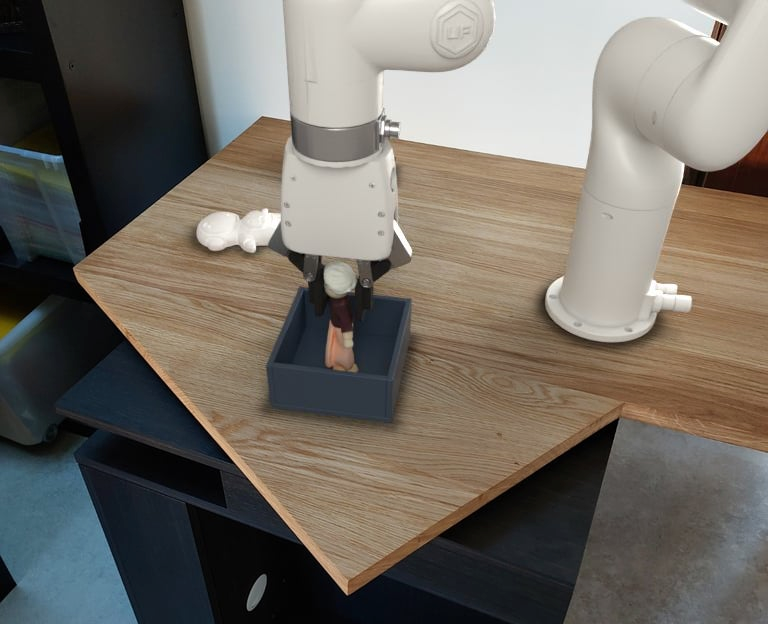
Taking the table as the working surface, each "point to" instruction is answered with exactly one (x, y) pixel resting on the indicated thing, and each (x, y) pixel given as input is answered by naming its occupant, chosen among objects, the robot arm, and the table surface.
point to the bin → (335, 387)
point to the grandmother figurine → (340, 316)
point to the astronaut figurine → (237, 230)
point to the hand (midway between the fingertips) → (341, 309)
